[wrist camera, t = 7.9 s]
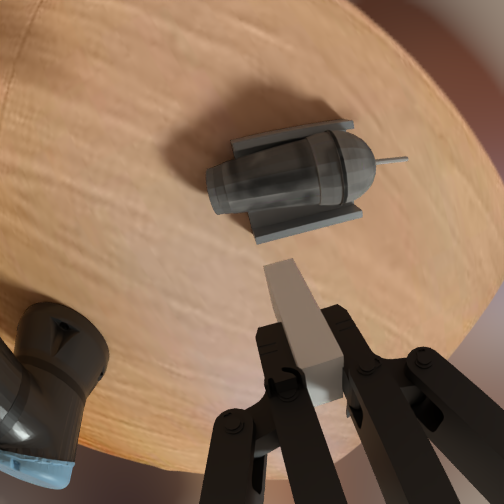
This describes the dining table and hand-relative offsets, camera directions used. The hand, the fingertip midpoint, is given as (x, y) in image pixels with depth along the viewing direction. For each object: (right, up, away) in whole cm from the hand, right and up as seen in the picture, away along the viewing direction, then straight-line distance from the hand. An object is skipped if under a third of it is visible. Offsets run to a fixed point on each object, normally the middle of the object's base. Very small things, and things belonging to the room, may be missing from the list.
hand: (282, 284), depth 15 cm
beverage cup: (-5, +7, +13) cm, 16 cm away
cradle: (+3, +10, +15) cm, 18 cm away
